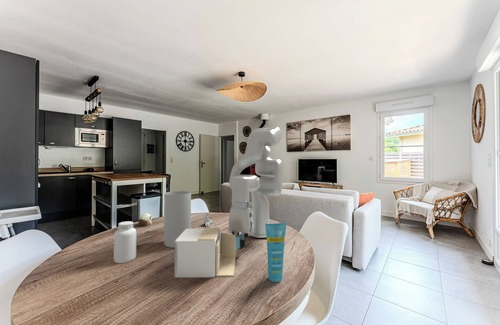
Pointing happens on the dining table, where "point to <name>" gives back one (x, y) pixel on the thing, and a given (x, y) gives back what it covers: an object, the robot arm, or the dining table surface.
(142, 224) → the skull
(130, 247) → the pill bottle
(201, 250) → the carton
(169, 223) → the cylinder vase
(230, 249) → the door
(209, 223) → the house of cards
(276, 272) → the tube
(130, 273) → the dining table surface
